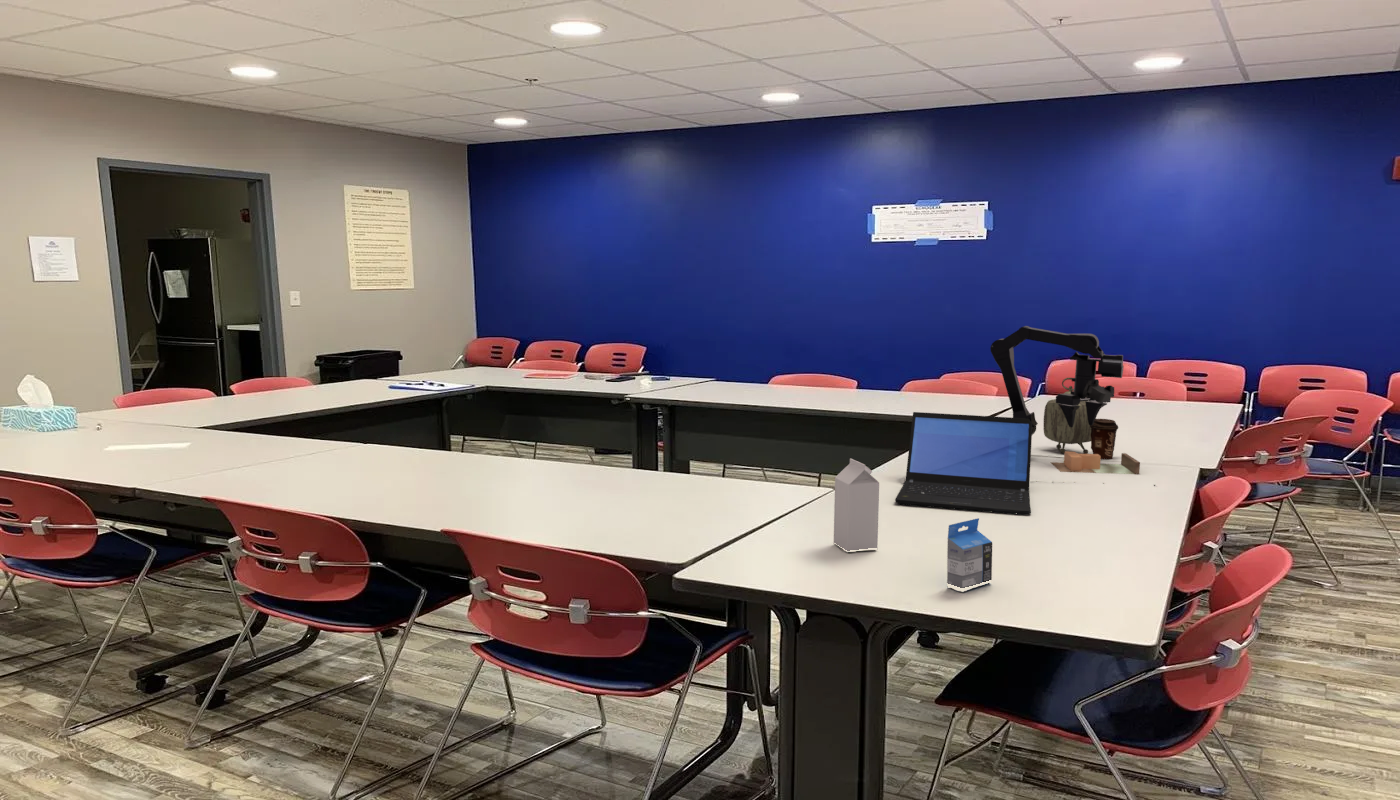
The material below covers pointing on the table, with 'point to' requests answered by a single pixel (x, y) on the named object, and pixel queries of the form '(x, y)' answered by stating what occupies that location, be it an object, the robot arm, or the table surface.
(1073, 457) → the tee block
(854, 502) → the milk carton
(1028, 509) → the laptop
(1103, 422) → the coffee cup
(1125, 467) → the board
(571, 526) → the table surface
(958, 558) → the label tape box
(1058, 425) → the tabletop clock
